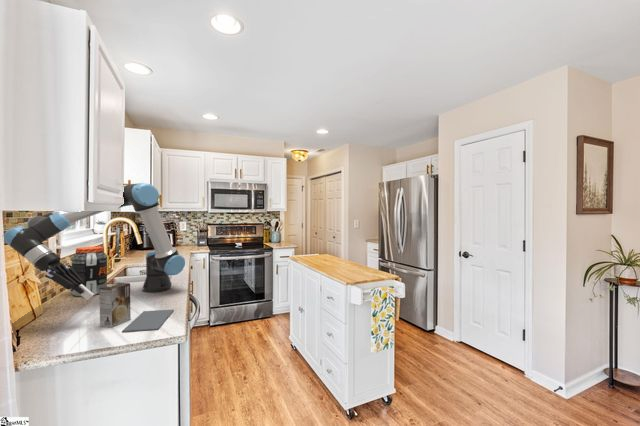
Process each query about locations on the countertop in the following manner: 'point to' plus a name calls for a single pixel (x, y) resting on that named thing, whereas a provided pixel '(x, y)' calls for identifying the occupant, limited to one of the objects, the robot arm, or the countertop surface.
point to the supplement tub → (91, 268)
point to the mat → (149, 321)
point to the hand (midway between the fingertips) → (90, 297)
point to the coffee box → (114, 304)
